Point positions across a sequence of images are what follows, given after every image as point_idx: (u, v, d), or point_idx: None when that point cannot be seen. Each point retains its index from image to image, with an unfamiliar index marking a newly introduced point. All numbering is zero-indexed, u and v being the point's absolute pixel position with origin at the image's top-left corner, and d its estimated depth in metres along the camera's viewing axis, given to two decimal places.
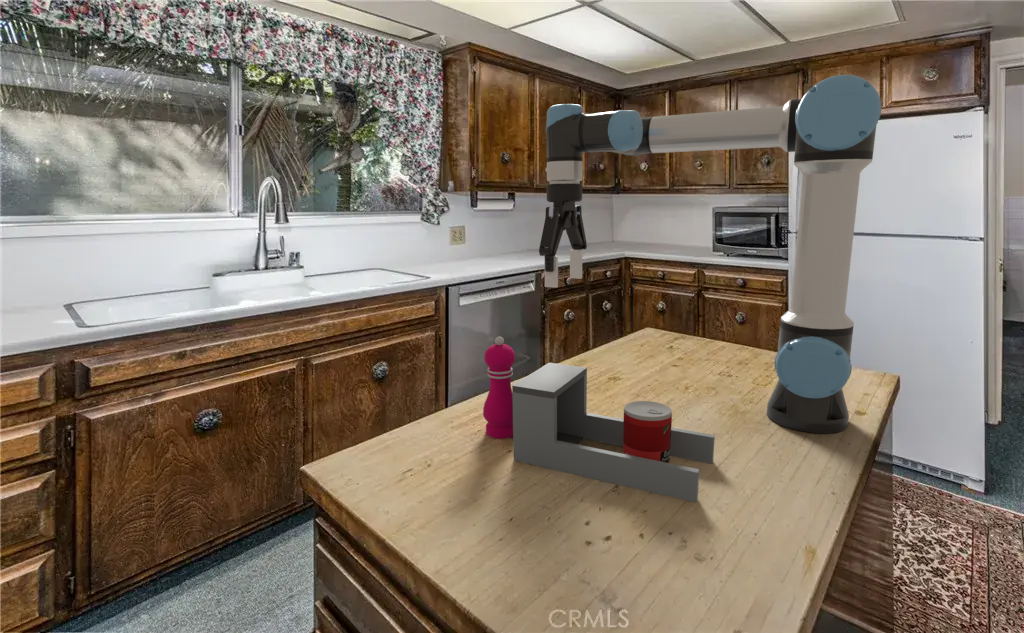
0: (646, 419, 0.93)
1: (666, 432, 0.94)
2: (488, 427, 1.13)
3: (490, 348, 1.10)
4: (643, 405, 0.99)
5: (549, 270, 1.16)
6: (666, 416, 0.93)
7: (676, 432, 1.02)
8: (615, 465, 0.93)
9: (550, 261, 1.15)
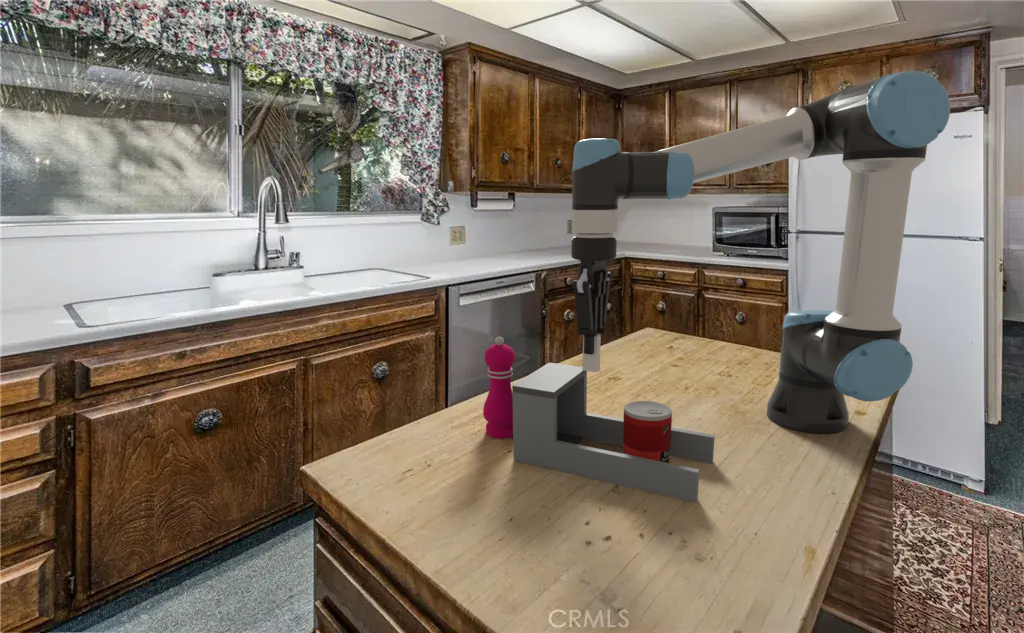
0: (646, 419, 0.93)
1: (666, 432, 0.94)
2: (488, 427, 1.13)
3: (490, 348, 1.10)
4: (643, 405, 0.99)
5: (589, 352, 0.97)
6: (666, 416, 0.93)
7: (676, 432, 1.02)
8: (615, 465, 0.93)
9: (591, 342, 0.97)
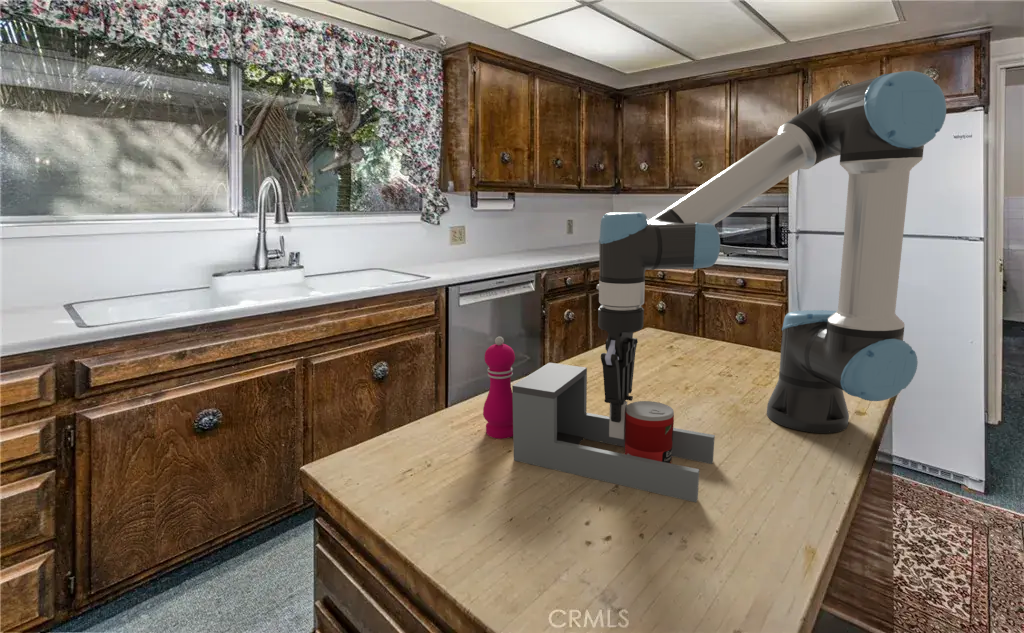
0: (648, 419, 0.93)
1: (668, 432, 0.94)
2: (488, 427, 1.13)
3: (490, 348, 1.10)
4: (645, 405, 0.99)
5: (616, 420, 0.98)
6: (668, 416, 0.93)
7: (676, 432, 1.02)
8: (615, 465, 0.93)
9: (618, 410, 0.97)
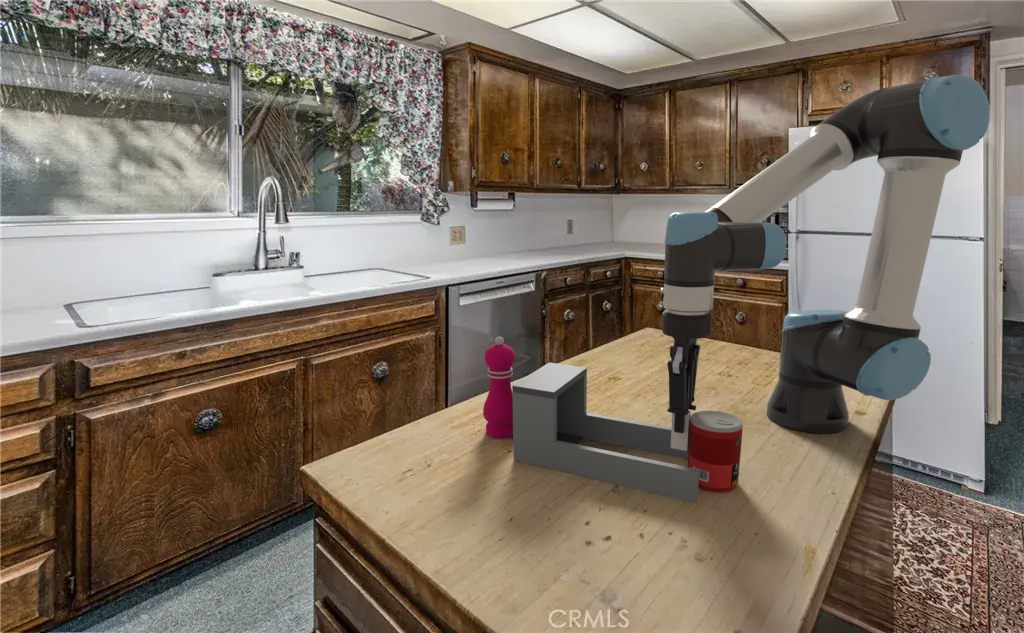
0: (718, 431, 0.88)
1: (738, 444, 0.89)
2: (488, 427, 1.13)
3: (490, 348, 1.10)
4: (709, 415, 0.94)
5: (680, 431, 0.93)
6: (739, 427, 0.88)
7: None
8: (615, 465, 0.93)
9: (682, 421, 0.92)
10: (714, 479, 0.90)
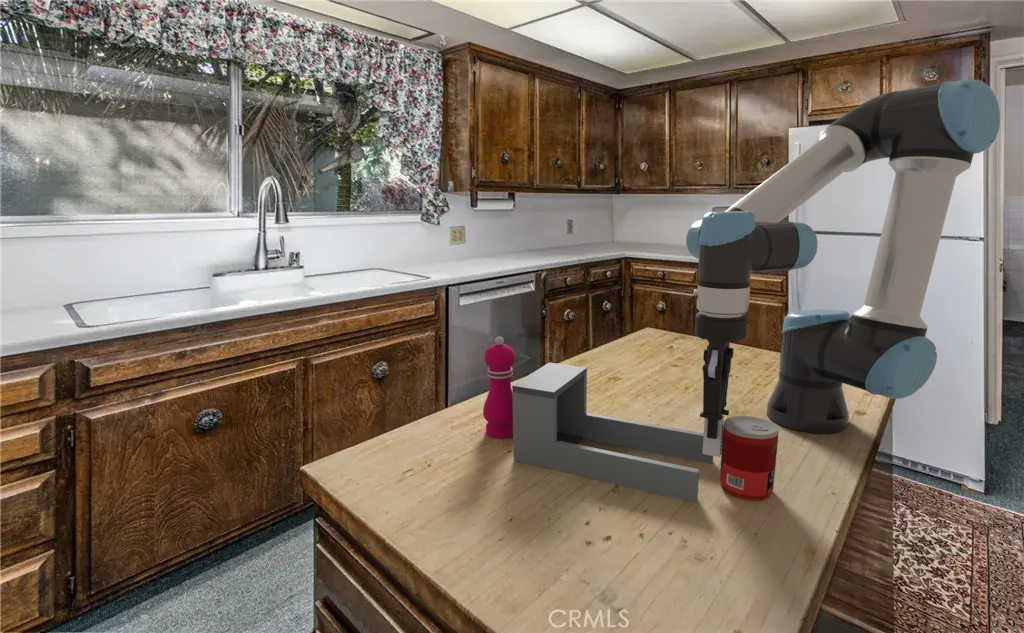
0: (754, 437, 0.85)
1: (774, 451, 0.87)
2: (488, 427, 1.13)
3: (490, 348, 1.10)
4: (742, 421, 0.91)
5: (713, 437, 0.90)
6: (775, 433, 0.86)
7: (676, 432, 1.02)
8: (615, 465, 0.93)
9: (716, 426, 0.89)
10: (749, 487, 0.87)
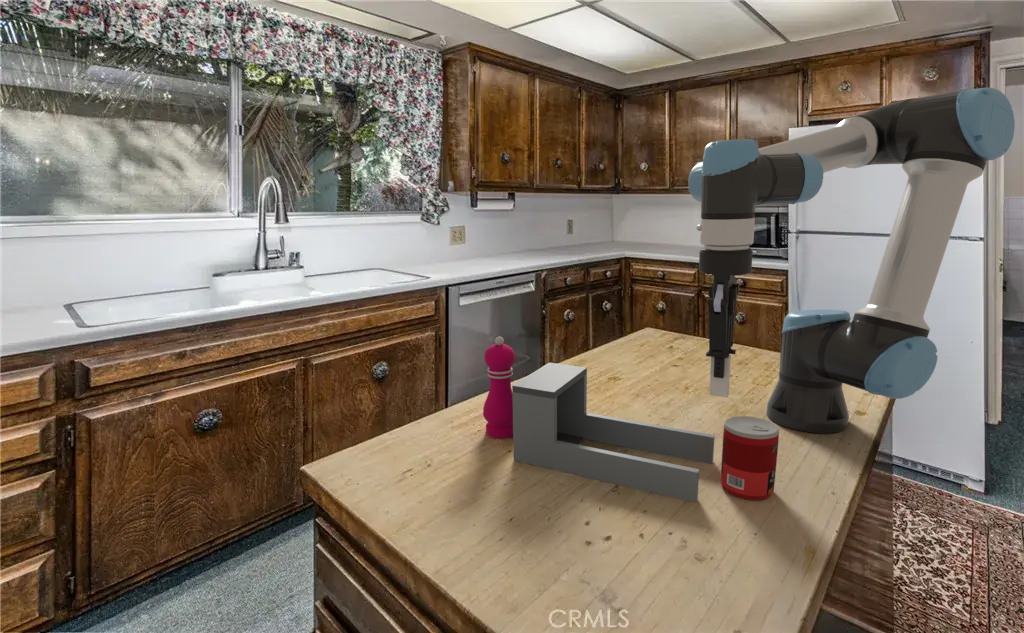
0: (754, 437, 0.85)
1: (774, 451, 0.87)
2: (488, 427, 1.13)
3: (490, 348, 1.10)
4: (743, 421, 0.91)
5: (720, 376, 0.88)
6: (775, 433, 0.86)
7: (676, 432, 1.02)
8: (615, 465, 0.93)
9: (723, 364, 0.87)
10: (750, 487, 0.87)
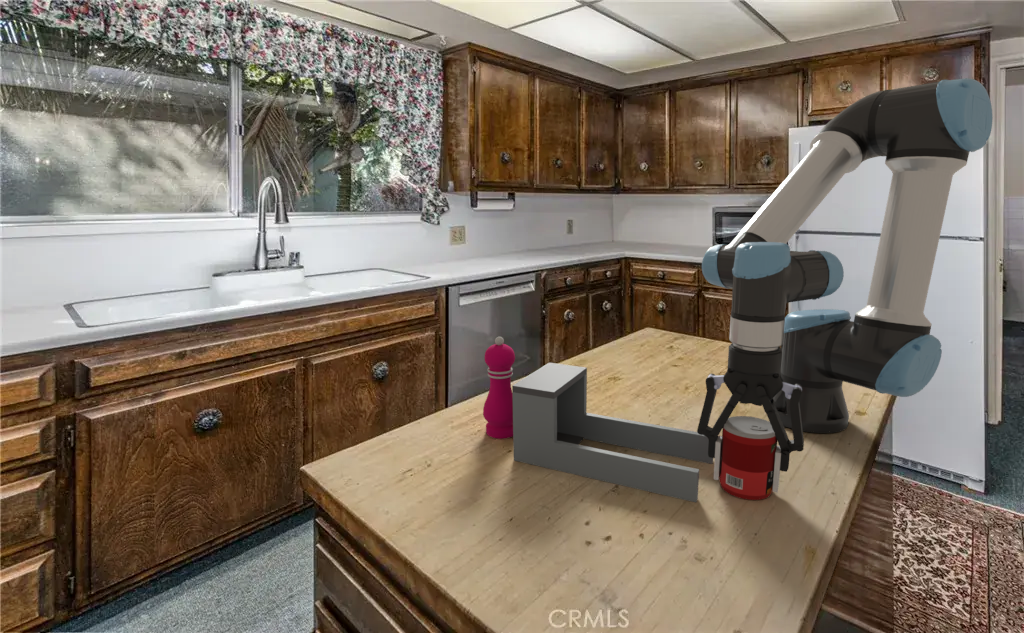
0: (753, 437, 0.85)
1: (773, 451, 0.87)
2: (488, 427, 1.13)
3: (490, 348, 1.10)
4: (742, 421, 0.91)
5: None
6: (774, 433, 0.86)
7: (676, 432, 1.02)
8: (615, 465, 0.93)
9: None
10: (749, 486, 0.87)
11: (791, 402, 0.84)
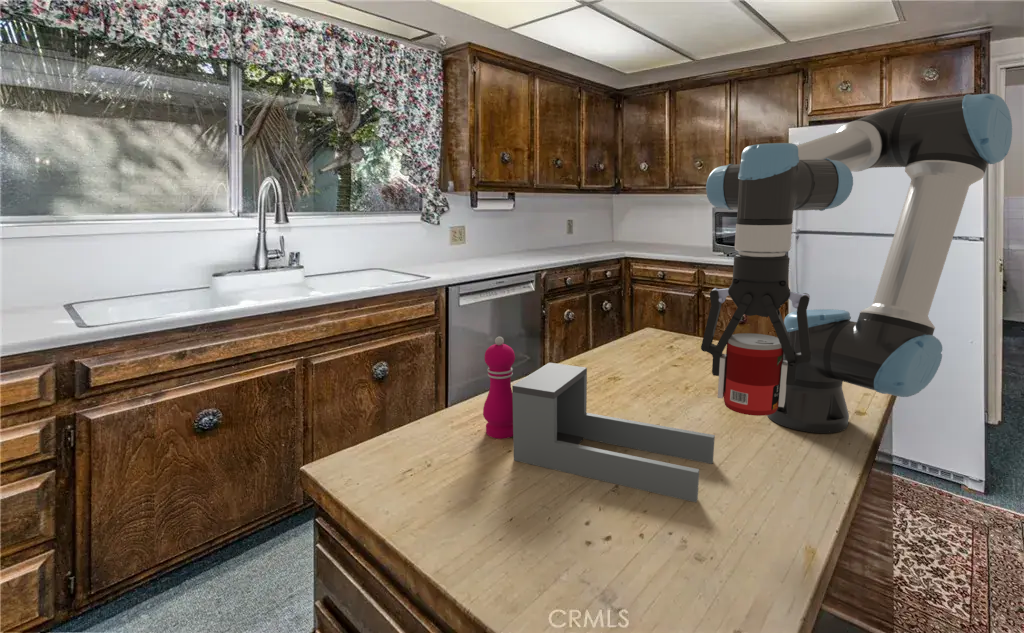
0: (759, 348, 0.83)
1: (779, 364, 0.84)
2: (488, 427, 1.13)
3: (490, 348, 1.10)
4: (747, 337, 0.88)
5: None
6: (780, 345, 0.83)
7: (676, 432, 1.02)
8: (615, 465, 0.93)
9: None
10: (754, 401, 0.84)
11: (798, 310, 0.81)
